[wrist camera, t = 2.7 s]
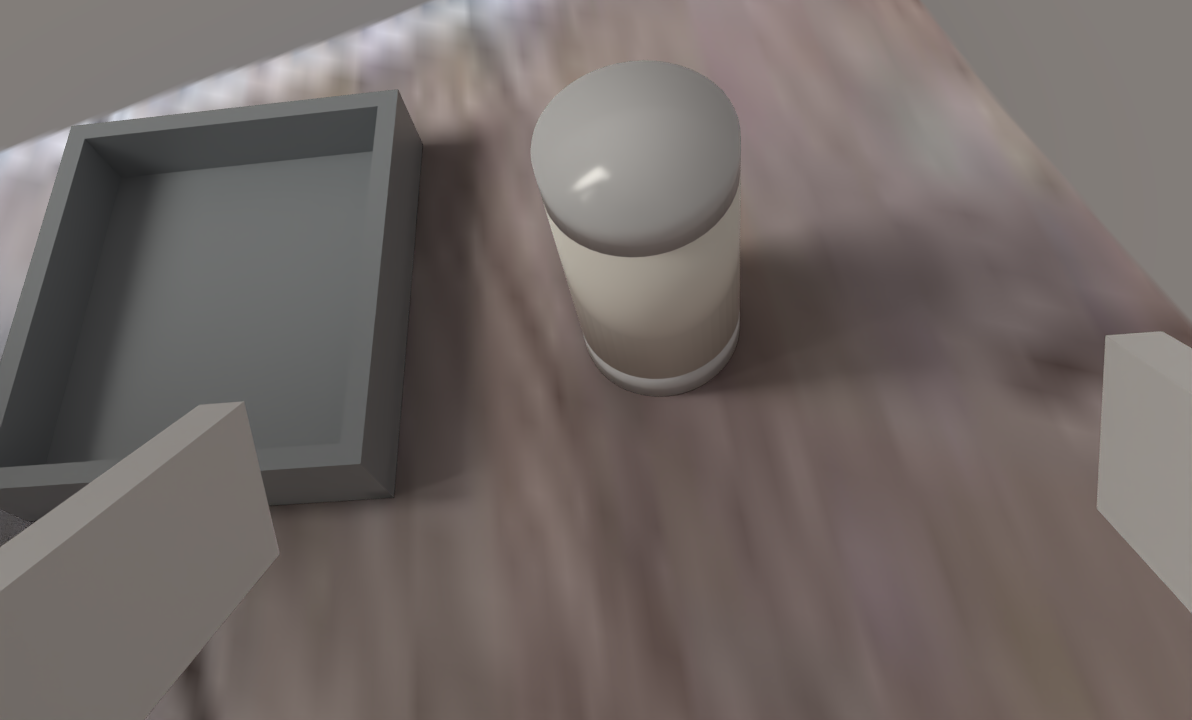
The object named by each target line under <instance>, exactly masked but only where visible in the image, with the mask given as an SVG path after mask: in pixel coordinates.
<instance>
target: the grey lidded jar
mask: <svg viewBox="0 0 1192 720" xmlns="http://www.w3.org/2000/svg"><path fill="white" fill-rule="evenodd" d="M531 162H532V166H533V170H534V174H535V177H536V180H537V184H538V187H539V190H540V194H541V197H542V200H543V204H544V207H545V210H546V213H547V217H548V220H549V223H550V227H551V230H552V233H553V237H554V240H555V243H556V246H557V250H558V253H559V256H560V260H561V263H562V266H563V270H564V273H565V276H566V279H567V283H568V286H569V289H570V293H571V296H572V299H573V303H574V306H575V309H576V312H577V316H578V319H579V322H580V326H581V329H582V332H583V336H584V339H585V342H586V345H587V349H588V351H589V354H590V356H591V358H592V360H593V362H594V364H595V365H596V367H597V368H598V369H599V370H600V372H601V373H602V374H603V375H604V376H605V377H607V378H608V379H609V380H610V381H612V382H613V383H614V384H616V385H618V386H619V387H621V388H623V389H625V390H628V391H631V392H633V393H637V394H641V395H646V396H671V395H678V394H681V393H685V392H688V391H691V390H693V389H696V388H698V387H700V386H702V385H703V384H705V383H707V382H708V381H710V380H711V379H712V378H714V377H715V376H716V375H717V374H718V373H719V372H720V371H721V370H722V369H723V368H724V367H725V365H726V364H727V363H728V361H729V360H730V358H731V356H732V355H733V352H734V350H735V348H736V345H737V342H738V338H739V330H740V162H741V136H740V125H739V120H738V117H737V114H736V111H735V109H734V107H733V105H732V103H731V102H730V100H729V98H728V97H727V96H726V95H725V93H724V92H723V91H722V90H721V89H720V88H719V87H718V86H717V85H716V84H715V83H713V82H712V81H711V80H709V79H708V78H706V77H705V76H703V75H701V74H699V73H698V72H696V71H694V70H691V69H689V68H686V67H683V66H680V65H676V64H672V63H667V62H660V61H629V62H623V63H617V64H613V65H610V66H606V67H603V68H600V69H597V70H595V71H592V72H590V73H588V74H586V75H584V76H582V77H580V78H579V79H577V80H575V81H574V82H572V83H571V84H569V85H568V86H567V87H565V88H564V89H563V90H562V91H560V92H559V93H558V94H557V95H556V96H555V97H554V98H553V99H552V100H551V102H550V103H549V104H548V105H547V107H546V108H545V109H544V111H543V113H542V114H541V116H540V118H539V119H538V122H537V124H536V127H535V129H534V133H533V136H532V141H531Z"/></svg>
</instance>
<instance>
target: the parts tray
mask: <svg viewBox="0 0 1192 720" xmlns="http://www.w3.org/2000/svg"><path fill="white" fill-rule="evenodd" d="M422 147H423V144H422V141H421V139H420V137H419V135H418V133H417V130H416V128H415V126H414V124H413V121H412V119H411V117H410V115H409V113H408V110H407V108H406V106H405V104H404V101H403V99H402V97H401V95H400V93H399V90H398V89H397V90H388V91H379V92H370V93H361V94H352V95H343V96H335V97H326V98H317V99H308V100H299V101H290V102H281V103H272V104H264V105H255V106H246V107H237V108H228V109H219V110H210V111H202V112H193V113H184V114H175V115H166V116H157V117H148V118H139V119H131V120H122V121H113V122H104V123H95V124H86V125H77V126H72V127H71V130H70V133H69V136H68V140H67V143H66V146H65V150H64V153H63V156H62V160H61V163H60V166H59V170H58V173H57V176H56V180H55V183H54V186H53V190H52V193H51V196H50V199H49V203H48V206H47V209H46V213H45V216H44V219H43V223H42V226H41V229H40V233H39V236H38V239H37V243H36V246H35V249H34V253H33V256H32V259H31V262H30V266H29V269H28V272H27V276H26V279H25V282H24V286H23V289H22V292H21V296H20V299H19V302H18V306H17V309H16V312H15V316H14V319H13V322H12V325H11V329H10V332H9V335H8V339H7V342H6V345H5V349H4V352H3V355H2V359H1V362H0V509H2V510H4V511H6V512H8V513H11V514H13V515H15V516H17V517H19V518H22V519H24V520H26V521H37V520H39V519H40V518H42V517H43V516H44V515H46V514H47V513H49V512H50V511H51V510H53V509H54V508H56V507H57V506H58V505H60V504H61V503H63V502H64V501H65V500H67V499H68V498H70V497H71V496H72V495H74V494H75V493H77V492H78V491H79V490H81V489H82V488H84V487H85V486H86V485H88V484H89V483H91V482H92V481H93V480H95V479H96V478H98V477H99V476H100V475H102V474H103V473H105V472H106V471H107V470H109V469H110V468H112V467H113V466H114V465H116V464H117V463H119V462H120V461H121V460H123V459H124V458H126V457H127V456H128V455H130V454H131V453H133V452H134V451H135V450H137V449H138V448H139V447H141V446H142V445H144V444H145V443H146V442H148V441H149V440H151V439H152V438H153V437H155V436H156V435H158V434H159V433H160V432H162V431H163V430H165V429H166V428H167V427H169V426H170V425H172V424H173V423H174V422H176V421H177V420H179V419H180V418H181V417H183V416H184V415H186V414H187V413H188V412H190V411H191V410H193V409H194V408H195V407H197V406H198V405H203V404H216V403H229V402H242V401H244V403H245V407H246V412H247V416H248V420H249V425H250V429H251V433H252V437H253V442H254V446H255V450H256V454H257V459H258V463H259V467H260V471H261V476H262V480H263V484H264V488H265V493H266V497H267V501H268V506H270V505H286V504H301V503H317V502H332V501H348V500H363V499H379V498H394V491H395V478H396V466H397V454H398V442H399V429H400V417H401V405H402V393H403V380H404V368H405V356H406V344H407V331H408V319H409V307H410V294H411V282H412V270H413V258H414V245H415V233H416V221H417V209H418V196H419V184H420V172H421V160H422Z"/></svg>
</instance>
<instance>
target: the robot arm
mask: <svg viewBox="0 0 1192 720" xmlns="http://www.w3.org/2000/svg"><path fill="white" fill-rule="evenodd" d="M1097 509H1098V510H1099V512H1100V513H1101V514H1102V515H1103V516H1104V517H1105V518H1106V519H1107V520H1108V521H1109V523H1110V524H1111V525H1112V526H1113V527H1114V528H1115V529H1116V530H1117V531H1118V532H1119V534H1120V535H1121V536H1122V537H1123V538H1124V539H1125V540H1126V541H1127V542H1128V544H1129V545H1130V546H1131V547H1132V548H1133V549H1134V550H1135V551H1136V552H1137V553H1138V555H1139V556H1140V557H1141V558H1142V559H1143V560H1144V561H1145V562H1146V563H1147V564H1148V566H1149V567H1150V568H1151V569H1152V570H1153V571H1154V572H1155V573H1156V574H1157V576H1158V577H1159V578H1160V579H1161V580H1162V581H1163V582H1164V583H1165V584H1166V585H1167V587H1168V588H1169V589H1170V590H1171V591H1172V592H1173V593H1174V594H1175V595H1176V597H1177V598H1178V599H1179V600H1180V601H1181V602H1182V603H1183V604H1184V605H1185V606H1186V608H1187V609H1188V610H1189V611H1190V612H1191V613H1192V348H1190V347H1188V346H1187V345H1185V344H1183V343H1181V342H1180V341H1178V340H1176V339H1175V338H1173V337H1171V336H1169V335H1168V334H1166V333H1164V332H1162V331H1159V332H1146V333H1132V334H1119V335H1106V337H1105V356H1104V376H1103V396H1102V415H1101V435H1100V455H1099V474H1098V494H1097ZM279 554H280V552H279V548H278V544H277V540H276V535H275V531H274V527H273V523H272V518H271V514H270V510H269V506H268V501H267V497H266V493H265V488H264V484H263V480H262V476H261V471H260V467H259V463H258V459H257V454H256V450H255V446H254V442H253V437H252V433H251V429H250V425H249V420H248V416H247V412H246V407H245V403H244V401H242V402H229V403H216V404H203V405H198V406H197V407H195V408H194V409H193V410H191V411H190V412H188V413H187V414H186V415H184V416H183V417H181V418H180V419H179V420H177V421H176V422H174V423H173V424H172V425H170V426H169V427H167V428H166V429H165V430H163V431H162V432H160V433H159V434H158V435H156V436H155V437H153V438H152V439H151V440H149V441H148V442H146V443H145V444H144V445H142V446H141V447H139V448H138V449H137V450H135V451H134V452H133V453H131V454H130V455H128V456H127V457H126V458H124V459H123V460H121V461H120V462H119V463H117V464H116V465H114V466H113V467H112V468H110V469H109V470H107V471H106V472H105V473H103V474H102V475H100V476H99V477H98V478H96V479H95V480H93V481H92V482H91V483H89V484H88V485H86V486H85V487H84V488H82V489H81V490H79V491H78V492H77V493H75V494H74V495H72V496H71V497H70V498H68V499H67V500H65V501H64V502H63V503H61V504H60V505H58V506H57V507H56V508H54V509H53V510H51V511H50V512H49V513H47V514H46V515H44V516H43V517H42V518H40V519H39V520H37V521H36V522H35V523H33V524H32V525H30V526H29V527H28V528H26V529H25V530H23V531H22V532H21V533H19V534H18V535H16V536H15V537H14V538H12V539H11V540H9V541H8V542H7V543H5V544H4V545H2V546H1V547H0V720H144V719H145V718H146V717H147V716H148V714H149V713H150V712H151V711H152V710H153V708H154V707H155V706H156V705H157V703H158V702H159V701H160V700H161V699H162V697H163V696H164V695H165V694H166V692H167V691H168V690H169V689H170V688H171V686H172V685H173V684H174V683H175V681H176V680H177V679H178V678H179V677H180V675H181V674H182V673H183V672H184V670H185V669H186V668H187V667H188V666H189V664H190V663H191V662H192V661H193V659H194V658H195V657H196V656H197V655H198V653H199V652H200V651H201V650H202V648H203V647H204V646H205V645H206V644H207V642H208V641H209V640H210V639H211V637H212V636H213V635H214V634H215V633H216V631H217V630H218V629H219V628H220V626H221V625H222V624H223V623H224V622H225V620H226V619H227V618H228V617H229V615H230V614H231V613H232V612H233V611H234V609H235V608H236V607H237V606H238V604H239V603H240V602H241V601H242V600H243V598H244V597H245V596H246V595H247V593H248V592H249V591H250V590H251V589H252V587H253V586H254V585H255V584H256V582H257V581H258V580H259V579H260V578H261V576H262V575H263V574H264V573H265V571H266V570H267V569H268V568H269V567H270V565H271V564H272V563H273V562H274V560H275V559H276V558H277V557H278V556H279Z"/></svg>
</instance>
